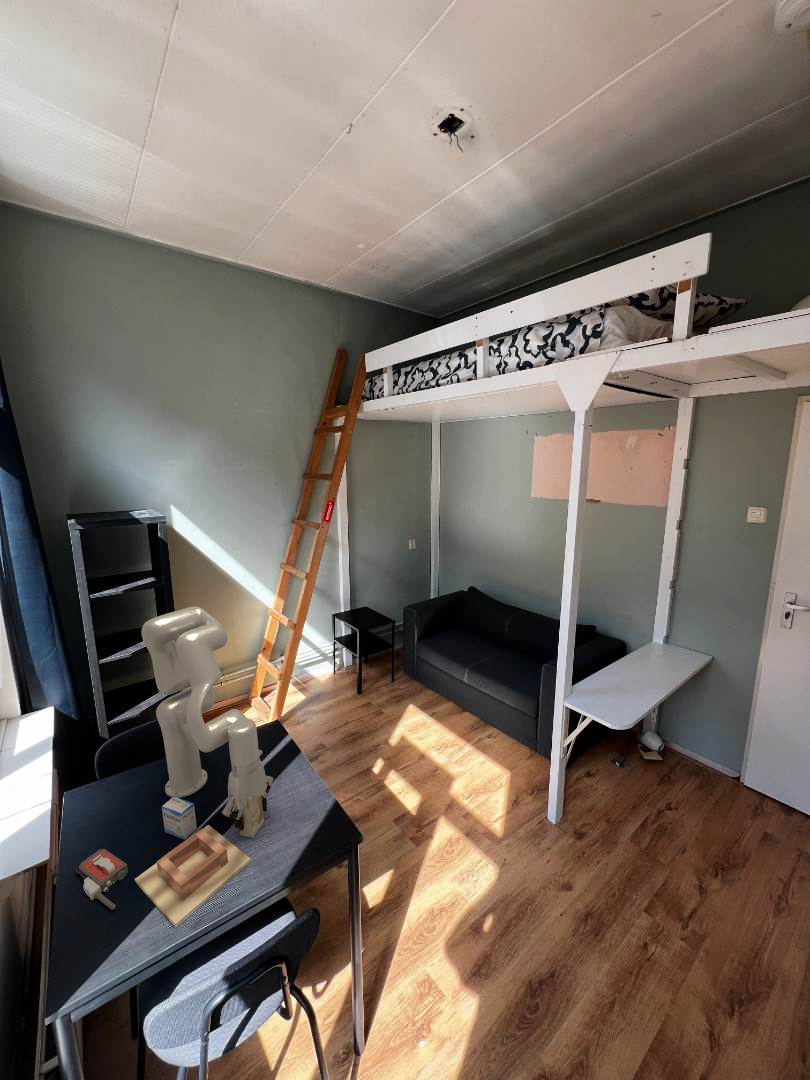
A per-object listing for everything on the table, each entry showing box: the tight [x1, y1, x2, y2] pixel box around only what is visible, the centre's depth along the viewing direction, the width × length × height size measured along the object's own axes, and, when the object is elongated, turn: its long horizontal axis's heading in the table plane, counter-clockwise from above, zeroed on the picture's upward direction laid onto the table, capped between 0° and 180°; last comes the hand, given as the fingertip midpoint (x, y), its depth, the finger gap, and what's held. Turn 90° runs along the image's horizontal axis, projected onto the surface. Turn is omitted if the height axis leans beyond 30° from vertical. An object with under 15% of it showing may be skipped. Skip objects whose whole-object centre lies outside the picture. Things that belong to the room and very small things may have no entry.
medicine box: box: [161, 797, 198, 841], centre depth 125 cm, size 8×4×9 cm, turn 68°
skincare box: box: [239, 795, 265, 839], centre depth 125 cm, size 6×4×12 cm
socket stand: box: [134, 824, 252, 929], centre depth 112 cm, size 20×20×5 cm
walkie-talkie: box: [75, 848, 129, 911], centre depth 110 cm, size 9×4×20 cm
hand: (251, 818), depth 125 cm, fingers closed on skincare box, 7 cm apart
